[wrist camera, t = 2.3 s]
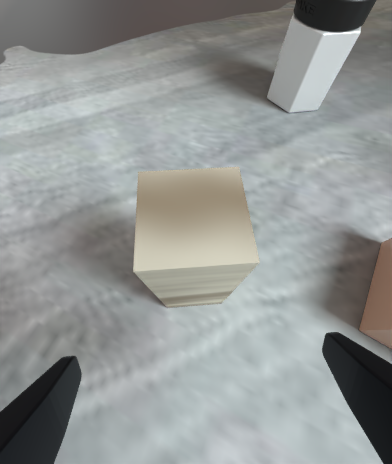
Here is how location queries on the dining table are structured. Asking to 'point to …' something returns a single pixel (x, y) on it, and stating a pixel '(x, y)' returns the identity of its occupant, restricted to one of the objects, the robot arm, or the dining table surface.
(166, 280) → the birch block
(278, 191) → the dining table surface
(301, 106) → the jar
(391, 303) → the socket
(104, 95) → the dining table surface
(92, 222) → the dining table surface
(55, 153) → the dining table surface
